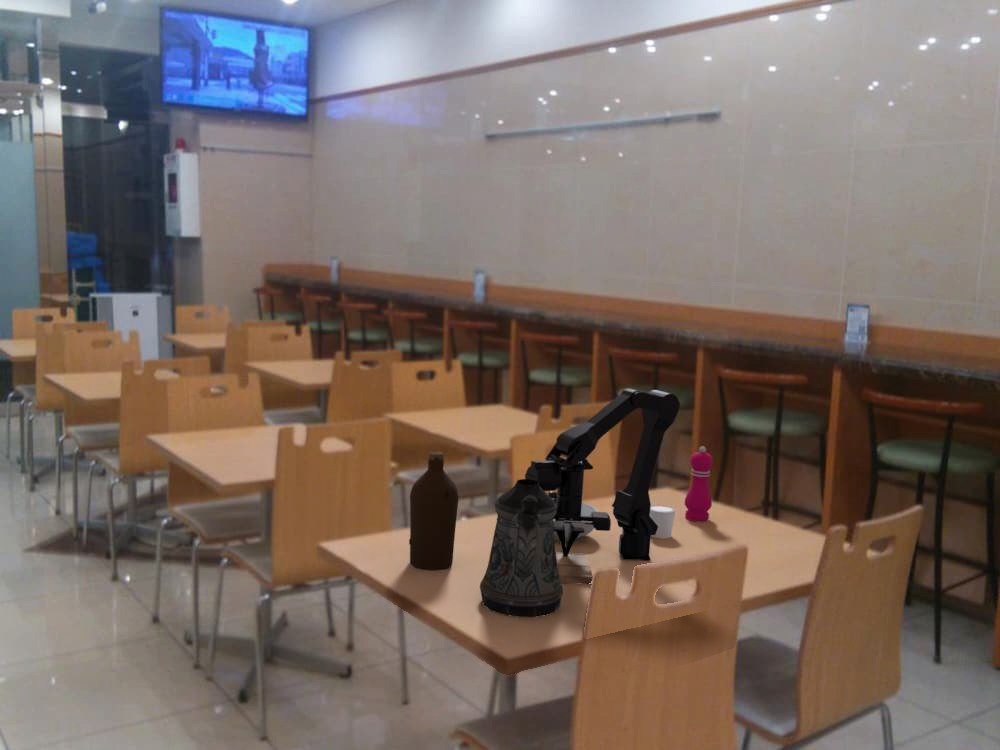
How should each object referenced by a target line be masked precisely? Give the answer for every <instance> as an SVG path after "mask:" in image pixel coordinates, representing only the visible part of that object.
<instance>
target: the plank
mask: <svg viewBox="0 0 1000 750" xmlns="http://www.w3.org/2000/svg"><path fill="white" fill-rule="evenodd" d="M556 557H557V565H575V566H588V562H587V558H586V553H585V552H583V553H582V552H581V553H579V552H569V554H568V556H567V557H566V556H563V552H559V551H556Z"/></svg>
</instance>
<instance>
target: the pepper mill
mask: <svg viewBox="0 0 1000 750" xmlns="http://www.w3.org/2000/svg"><path fill="white" fill-rule="evenodd" d="M698 450H699V451H696V452H694V453H693V454H692V455H691V456H690V460H689V461H690V462H689V463H690V466H691V467H692V469H690V471H691V472H690V474H691V475H692V480H691V485H690V487H689V489H688V491H687V493H686V495H685V499H684V505H685V508H686V509H687V510H685V516H684V517H685V518H686V519H687V520H688V521H691V520H692V521H693V522H697V521H705V522H708V521H709V520H708V519H709V518H710V513H709V512H708V511H709V510H711V508H712V505H713V503H712V502H713V501H712V497H711V494H710V490H709V485H708V483H709V481H708V480H709V477H710V476H711V474H710V473H711V468H713V466H714V465H713V463H714V460H713V457H712V455H711V454H710V453H708V452H706V450H707V448H706V447H705V446H703V445H702V446H700V447H699V448H698ZM707 520H708V521H707Z"/></svg>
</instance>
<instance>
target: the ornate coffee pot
mask: <svg viewBox="0 0 1000 750" xmlns="http://www.w3.org/2000/svg"><path fill="white" fill-rule="evenodd" d="M494 501H495V502H494V509H495V513H496V514H497V517H496V523H495V528H494V532H493V537H492V543H491V548H490V552H489V558H488V564H487V567H486V570H485V573H484V576H483V578H482V579H481V582H480V585H479V589H480V594H481V601H482V604H483V607H485V606H486V607H485V608H487V609H488V610H489V609H490V611H491V610H492V611H491V612H494V611H495V612H494V613H497V612H498V613H497V614H499V613H501V614H500V615H502V614H504V615H503V616H509V615H511V617H516V616H517V618H535V617H536V616H538V617H543V615H545V616H548V615H551V614H553V613H556V612H557V611H558V609H559V608H560V605H561V602H562V598H563V593H564V588H563V585H562V584H563V583H561V581H560V577H559V572H558V566H557V557H556V552H557V550H556V539H555V537H554V525H553V518H554V516H555V514H556V511H557V505H556V503H555V502H554V500H553V499H552V498H551V497H550V496H549V495H548V493H547V491H544V490H543V489H542V488H541V487H540V486H539V483H538V481H536V480H531V479H525V478H521V479H517V480H516V483H515V484H514V486H512V487H511V488H509V490H506V491H505V492H503V493H502V494H501V495H499V496H498V498H497V499H495V500H494ZM556 610H557V611H556ZM555 611H556V612H555ZM550 613H551V614H550ZM547 614H548V615H547Z"/></svg>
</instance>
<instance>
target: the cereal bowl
mask: <svg viewBox="0 0 1000 750" xmlns="http://www.w3.org/2000/svg"><path fill="white" fill-rule="evenodd" d="M591 512H599V510H598V509H597V508H596V507H595V506H593V505H591V504H587V503H584V502H582V508H581V516H591ZM559 519H561V518H559ZM571 520H572V519H571ZM569 525H570V523H564V528H565V541H567V538H568V533H569ZM594 530H595V528H594V527H593V525H589V524H585V526H584V533H580V534H579V535H578V537H577V538H576V540H577V539H579V538H580V537H584V536H587V535H588V534H590V533H592V532H593V531H594ZM554 537H555V540H557V539H558V540H557V541H560V540H559V538H558V535H557V533H556V532H555V531H554Z"/></svg>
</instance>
